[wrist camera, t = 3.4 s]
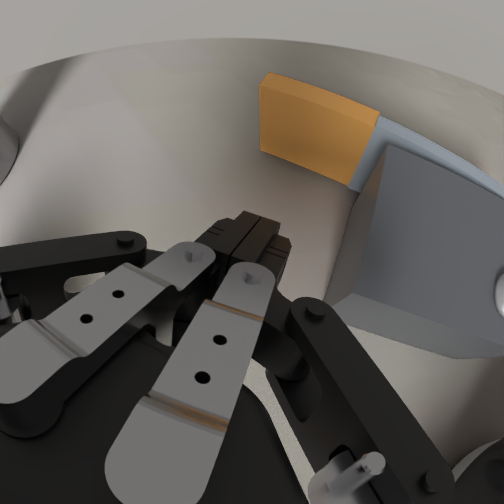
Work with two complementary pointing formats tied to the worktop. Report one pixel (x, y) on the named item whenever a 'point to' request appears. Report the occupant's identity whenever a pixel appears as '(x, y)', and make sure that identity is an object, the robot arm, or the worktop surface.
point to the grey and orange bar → (343, 135)
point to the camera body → (423, 260)
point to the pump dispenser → (480, 476)
